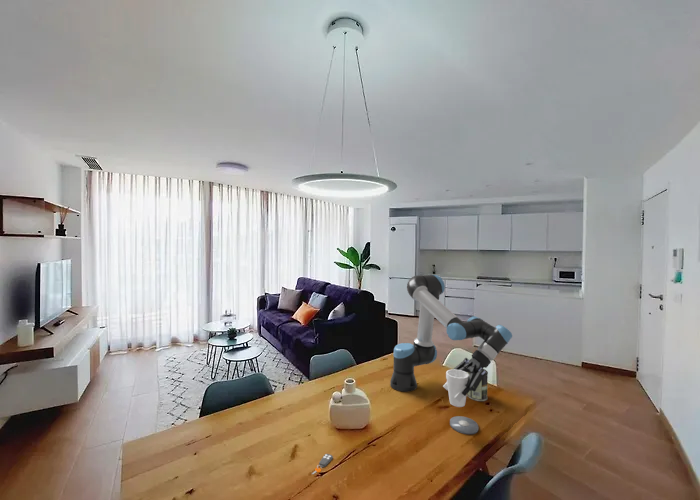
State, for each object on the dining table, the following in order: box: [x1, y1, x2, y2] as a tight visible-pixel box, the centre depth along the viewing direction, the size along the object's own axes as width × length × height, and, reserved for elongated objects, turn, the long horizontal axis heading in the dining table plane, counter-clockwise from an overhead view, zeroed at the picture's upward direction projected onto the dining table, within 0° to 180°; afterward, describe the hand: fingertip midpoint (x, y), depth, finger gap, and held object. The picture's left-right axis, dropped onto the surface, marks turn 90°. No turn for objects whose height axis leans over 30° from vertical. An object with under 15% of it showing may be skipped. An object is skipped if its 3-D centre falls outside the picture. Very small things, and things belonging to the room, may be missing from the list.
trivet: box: [449, 415, 479, 435], centre depth 137 cm, size 12×12×1 cm
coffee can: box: [466, 368, 489, 402], centre depth 165 cm, size 10×10×14 cm
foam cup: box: [445, 368, 469, 408], centre depth 133 cm, size 10×9×13 cm
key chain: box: [311, 453, 334, 475], centre depth 111 cm, size 13×4×2 cm, turn 155°
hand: (450, 393), depth 133 cm, fingers closed on foam cup, 9 cm apart
